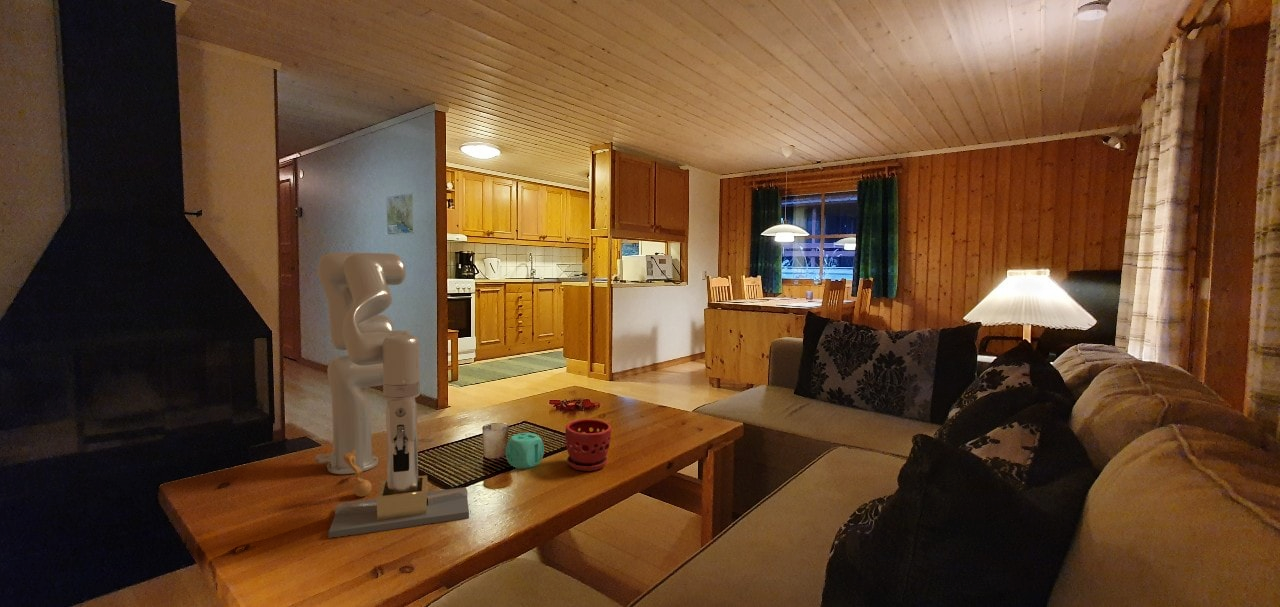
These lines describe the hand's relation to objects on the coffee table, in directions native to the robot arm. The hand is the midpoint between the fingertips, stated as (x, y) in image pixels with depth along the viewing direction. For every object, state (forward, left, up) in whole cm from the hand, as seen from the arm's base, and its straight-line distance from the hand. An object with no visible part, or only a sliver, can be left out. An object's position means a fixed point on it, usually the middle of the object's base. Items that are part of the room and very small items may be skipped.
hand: (402, 462), depth 121 cm
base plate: (0, 0, -12) cm, 12 cm away
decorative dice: (+31, +22, -12) cm, 40 cm away
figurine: (-11, +13, -12) cm, 21 cm away
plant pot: (+48, +15, -12) cm, 52 cm away
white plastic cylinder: (0, 0, -11) cm, 11 cm away
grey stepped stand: (0, 0, -10) cm, 10 cm away
